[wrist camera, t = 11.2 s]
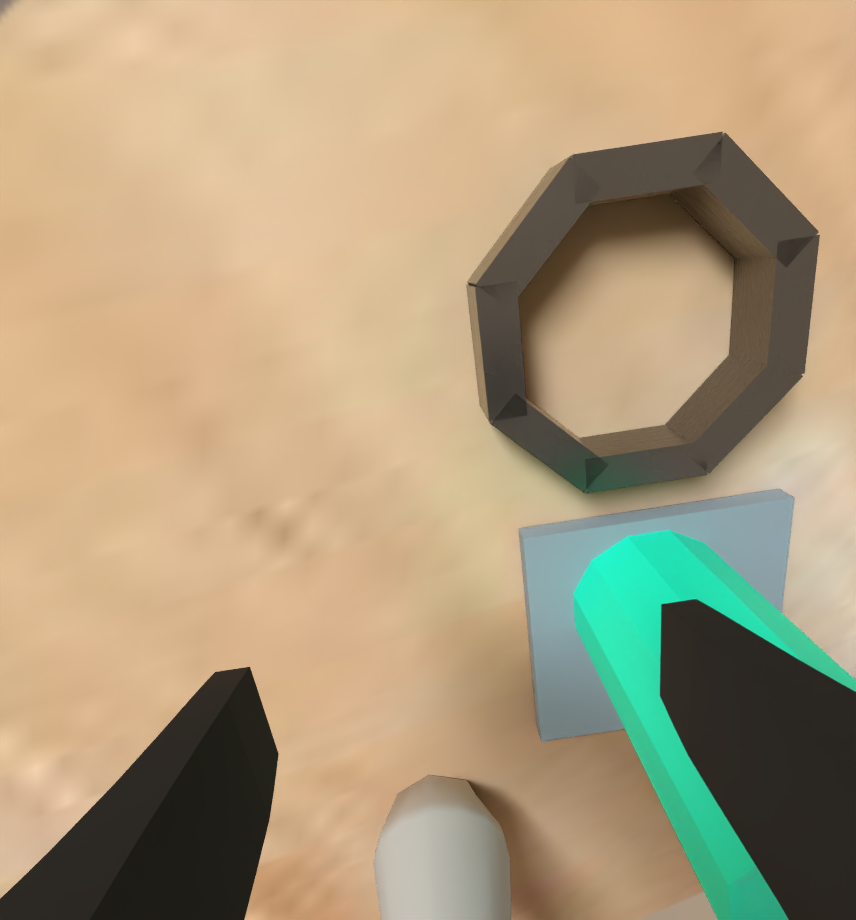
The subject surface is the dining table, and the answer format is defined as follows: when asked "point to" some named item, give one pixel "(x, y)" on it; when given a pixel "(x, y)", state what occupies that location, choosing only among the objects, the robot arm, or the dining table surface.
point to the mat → (580, 541)
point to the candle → (638, 690)
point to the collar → (752, 325)
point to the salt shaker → (442, 856)
